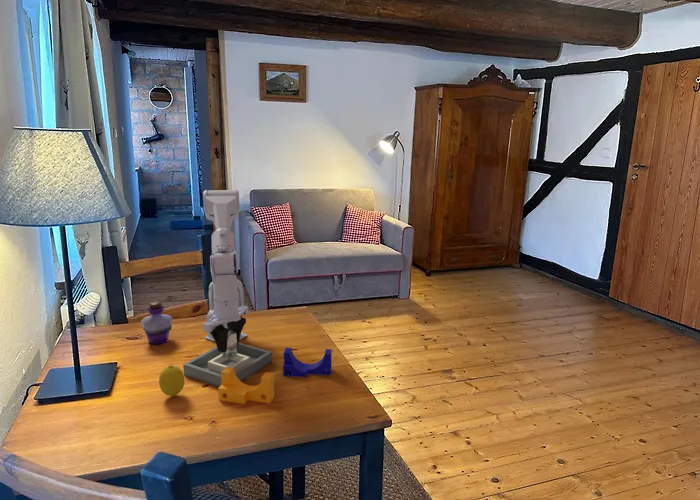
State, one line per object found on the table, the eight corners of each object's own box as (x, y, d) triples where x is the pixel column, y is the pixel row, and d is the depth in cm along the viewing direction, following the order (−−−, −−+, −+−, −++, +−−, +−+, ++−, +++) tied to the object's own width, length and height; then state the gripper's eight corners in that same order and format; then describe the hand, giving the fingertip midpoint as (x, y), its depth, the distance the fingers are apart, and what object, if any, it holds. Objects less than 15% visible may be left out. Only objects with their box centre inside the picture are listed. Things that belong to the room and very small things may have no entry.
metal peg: (218, 355, 129) (217, 334, 127) (228, 349, 132) (227, 328, 131) (230, 359, 127) (229, 337, 126) (240, 352, 131) (239, 331, 129)
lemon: (162, 405, 114) (159, 373, 112) (159, 393, 118) (156, 362, 116) (187, 399, 116) (185, 368, 114) (183, 388, 121) (181, 358, 119)
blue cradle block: (283, 376, 127) (282, 355, 126) (286, 368, 132) (285, 347, 130) (329, 378, 127) (329, 357, 125) (331, 370, 131) (331, 349, 130)
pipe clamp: (218, 400, 116) (217, 375, 115) (227, 391, 120) (226, 366, 119) (266, 408, 113) (266, 382, 112) (274, 398, 118) (273, 373, 116)
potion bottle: (180, 338, 148) (177, 300, 145) (158, 350, 141) (155, 310, 138) (158, 333, 152) (155, 296, 149) (136, 344, 144) (132, 305, 141)
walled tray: (184, 375, 127) (183, 364, 126) (229, 349, 142) (229, 339, 141) (228, 390, 120) (228, 379, 119) (272, 362, 135) (272, 351, 134)
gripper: (217, 310, 118) (220, 362, 121) (256, 293, 130) (258, 341, 134) (195, 305, 121) (199, 356, 125) (236, 288, 134) (238, 335, 137)
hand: (228, 348), depth 129 cm, fingers closed on metal peg, 4 cm apart
